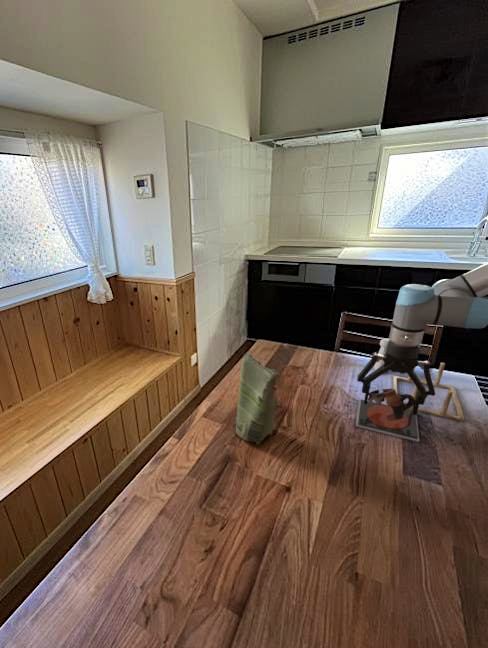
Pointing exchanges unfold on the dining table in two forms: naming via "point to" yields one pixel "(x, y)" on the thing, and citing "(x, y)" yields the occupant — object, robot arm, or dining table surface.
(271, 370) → the pouch
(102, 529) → the dining table surface
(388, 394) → the pottery mug
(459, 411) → the drying rack
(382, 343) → the salt shaker
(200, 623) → the dining table surface
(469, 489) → the dining table surface
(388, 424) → the hob
